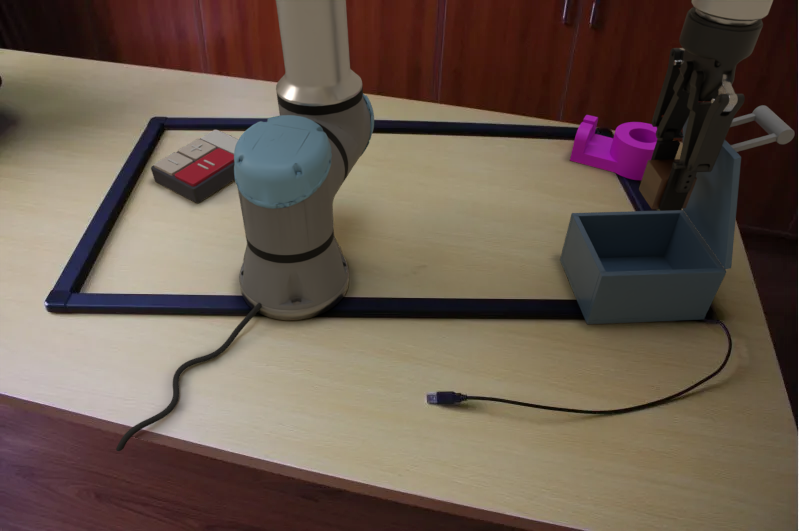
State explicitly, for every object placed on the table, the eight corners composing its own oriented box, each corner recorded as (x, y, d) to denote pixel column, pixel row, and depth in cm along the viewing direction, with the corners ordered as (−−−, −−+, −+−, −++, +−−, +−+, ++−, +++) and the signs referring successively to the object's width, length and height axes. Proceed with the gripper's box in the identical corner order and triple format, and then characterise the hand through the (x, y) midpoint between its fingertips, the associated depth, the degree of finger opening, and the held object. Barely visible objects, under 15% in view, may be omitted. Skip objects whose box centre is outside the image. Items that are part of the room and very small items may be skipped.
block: (651, 209, 81) (661, 179, 78) (638, 189, 84) (647, 159, 81) (685, 208, 81) (697, 178, 78) (671, 188, 85) (682, 158, 82)
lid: (734, 158, 71) (816, 136, 70) (683, 102, 81) (754, 82, 80) (725, 269, 83) (795, 252, 81) (681, 207, 93) (743, 191, 92)
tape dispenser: (666, 160, 120) (676, 130, 116) (657, 186, 114) (667, 155, 109) (582, 138, 126) (589, 109, 121) (568, 162, 119) (575, 132, 115)
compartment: (586, 324, 87) (602, 276, 81) (559, 259, 97) (571, 212, 92) (703, 319, 89) (727, 271, 83) (664, 256, 99) (683, 209, 93)
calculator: (147, 163, 108) (215, 125, 117) (154, 184, 111) (219, 145, 119) (192, 185, 103) (258, 144, 112) (198, 207, 106) (262, 164, 115)
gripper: (659, -15, 74) (610, 161, 89) (732, 45, 60) (660, 240, 76) (722, -15, 74) (662, 160, 89) (807, 45, 61) (721, 238, 76)
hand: (661, 196), depth 82 cm, fingers closed on block, 4 cm apart
